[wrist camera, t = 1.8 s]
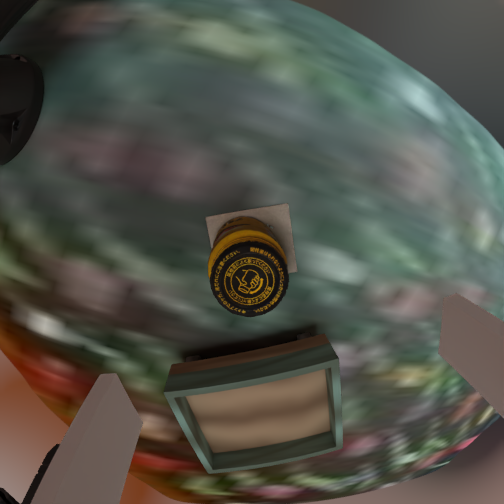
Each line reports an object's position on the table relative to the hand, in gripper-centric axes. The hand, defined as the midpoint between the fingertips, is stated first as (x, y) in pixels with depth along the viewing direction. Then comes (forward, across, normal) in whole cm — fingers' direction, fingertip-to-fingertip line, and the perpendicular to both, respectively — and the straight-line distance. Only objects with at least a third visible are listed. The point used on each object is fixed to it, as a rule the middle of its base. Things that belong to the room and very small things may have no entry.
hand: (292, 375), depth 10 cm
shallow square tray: (+22, -3, -18) cm, 28 cm away
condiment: (+22, 0, 0) cm, 22 cm away
